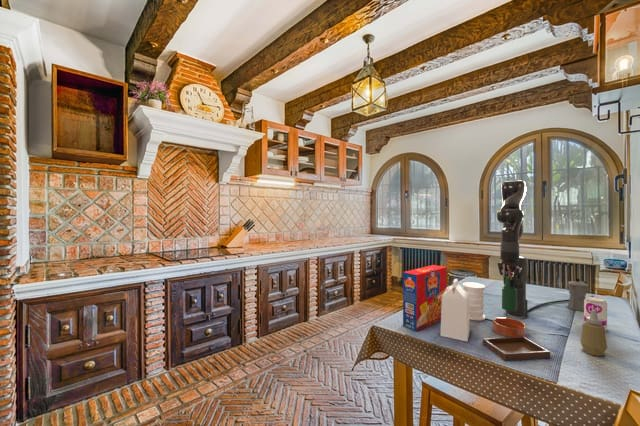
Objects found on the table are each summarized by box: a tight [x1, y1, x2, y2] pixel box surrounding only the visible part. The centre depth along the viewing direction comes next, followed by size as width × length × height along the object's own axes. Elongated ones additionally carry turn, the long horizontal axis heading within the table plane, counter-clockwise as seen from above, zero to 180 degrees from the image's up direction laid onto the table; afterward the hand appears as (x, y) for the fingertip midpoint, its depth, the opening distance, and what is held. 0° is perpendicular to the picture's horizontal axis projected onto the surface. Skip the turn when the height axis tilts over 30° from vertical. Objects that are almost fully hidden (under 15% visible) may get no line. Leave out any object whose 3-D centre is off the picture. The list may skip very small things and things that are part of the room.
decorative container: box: [462, 281, 486, 321], centre depth 157 cm, size 12×12×18 cm
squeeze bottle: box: [580, 310, 608, 357], centre depth 119 cm, size 8×8×18 cm
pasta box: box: [402, 264, 448, 332], centre depth 152 cm, size 28×8×28 cm, turn 127°
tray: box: [482, 336, 551, 361], centre depth 121 cm, size 20×14×3 cm
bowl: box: [492, 316, 527, 338], centre depth 138 cm, size 13×13×5 cm
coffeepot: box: [567, 278, 589, 312], centre depth 170 cm, size 15×9×18 cm, turn 113°
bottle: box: [501, 275, 517, 311], centre depth 137 cm, size 6×6×16 cm
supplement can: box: [583, 296, 608, 331], centre depth 142 cm, size 8×8×15 cm
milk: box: [439, 278, 471, 342], centre depth 138 cm, size 12×12×26 cm
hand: (509, 286), depth 137 cm, fingers closed on bottle, 3 cm apart
